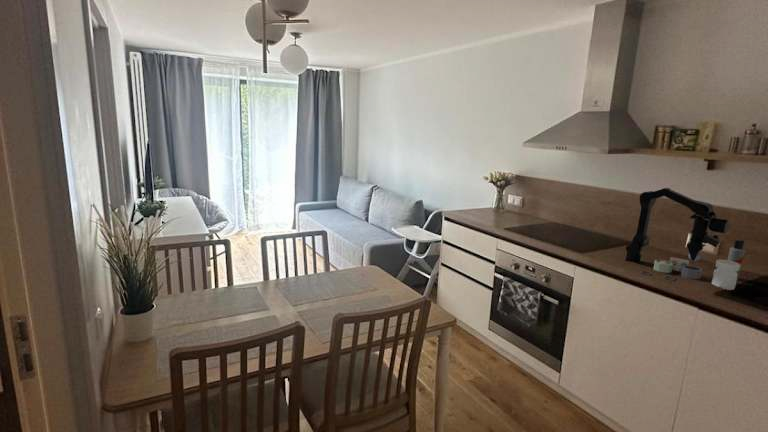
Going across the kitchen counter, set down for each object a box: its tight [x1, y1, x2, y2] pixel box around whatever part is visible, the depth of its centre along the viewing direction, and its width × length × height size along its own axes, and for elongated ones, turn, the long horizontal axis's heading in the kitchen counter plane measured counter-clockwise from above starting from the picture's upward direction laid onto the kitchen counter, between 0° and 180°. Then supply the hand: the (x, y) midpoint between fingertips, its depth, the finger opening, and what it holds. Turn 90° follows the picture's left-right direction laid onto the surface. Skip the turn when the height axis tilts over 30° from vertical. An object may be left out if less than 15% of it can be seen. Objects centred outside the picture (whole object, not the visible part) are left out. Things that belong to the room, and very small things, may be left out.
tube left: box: [653, 259, 673, 274], centre depth 213 cm, size 8×8×5 cm
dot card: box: [669, 256, 691, 273], centre depth 212 cm, size 8×1×7 cm, turn 47°
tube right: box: [680, 264, 703, 280], centre depth 205 cm, size 8×8×5 cm
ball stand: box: [640, 270, 676, 282], centre depth 205 cm, size 16×6×1 cm, turn 47°
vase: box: [711, 259, 740, 291], centre depth 194 cm, size 9×9×12 cm
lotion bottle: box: [727, 238, 746, 280], centre depth 204 cm, size 6×6×20 cm
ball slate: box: [688, 251, 702, 262], centre depth 203 cm, size 5×5×5 cm
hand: (693, 259), depth 203 cm, fingers closed on ball slate, 5 cm apart
